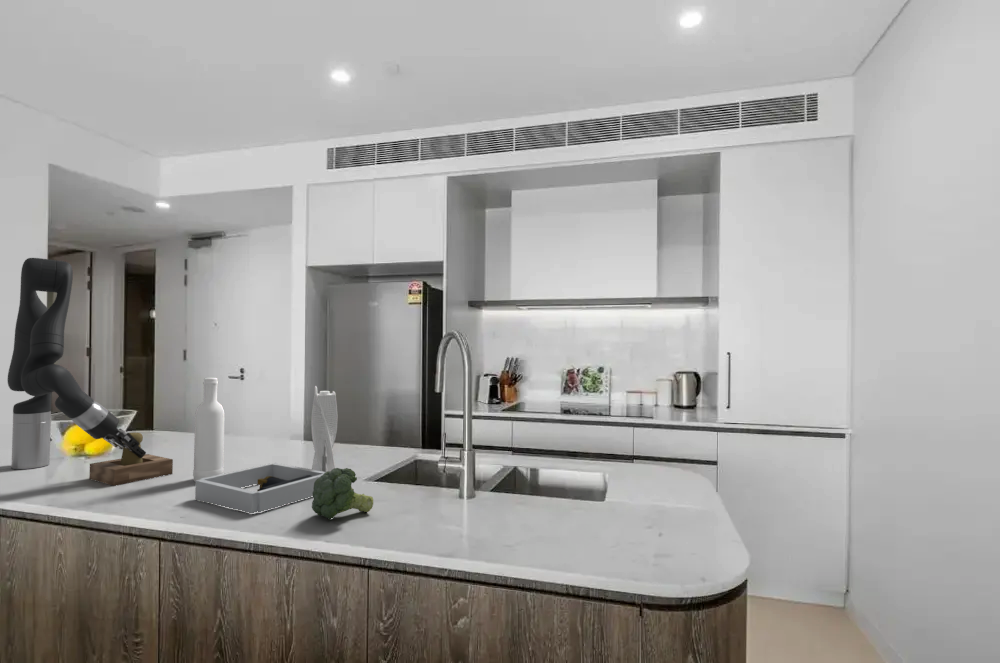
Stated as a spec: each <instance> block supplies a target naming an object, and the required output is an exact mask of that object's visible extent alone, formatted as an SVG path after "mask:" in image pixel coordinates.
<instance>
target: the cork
mask: <svg viewBox="0 0 1000 663" xmlns="http://www.w3.org/2000/svg"><path fill="white" fill-rule="evenodd" d="M129 433H130V434H131V435H132V436H133V437H134V438H135V439H136V440H137V441H138V442H139V444H140V445H139V447H140V448H142V444H141V443H142V442H143V436H144V435H143V434H142V433H141V432H137V431H136V432H135V431H133V432H129ZM123 444H124V443H123ZM132 445H133V444H132ZM132 445H131V446H132ZM120 459H121V463H120V465H122V466H127V465H132V464H138V463H143V460H142V458H139V457H138V456H137V455H135V454H134V453H132V452H131V451H129V450H128V449H126V448H125V447H123V450H122V454H121V458H120Z"/></svg>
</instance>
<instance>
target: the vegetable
mask: <svg viewBox="0 0 1000 663" xmlns="http://www.w3.org/2000/svg"><path fill="white" fill-rule="evenodd" d="M356 474H357V473H356V472H355V471H354V470H353V469H351V468H348V467H346V468H339V467H335V468H334V469H333V470H331V471H327V472H325V473H324V474H323V475H322V476H321V477H319V478H318V479H317V480H316V481H315V482H314V488H313V489H314V491H313V493H312V494H313V497H312V499H313V500H312V502H311V508H312V511H314V513H315V514H317V516H320V517H321V516H322V517H324V518H326V519H327V518H329V519H331V518H333V517H334V518H335V516H337V515H338V514H342V513H344V512H346V511H350V510H353V509H354V510H358V512H359V511H361V512H362V511H364V512H363V513H365V512H368V513H369V512H370V511H371V510H372V509H373V506H374V498H373V496H370V495H366V494H365V493H362V494H361V493H357V492H355V491H354V488H353V487H352V483H353V484H354V483H355V482H356V481H358V477H357V476H356ZM329 519H328V520H329Z"/></svg>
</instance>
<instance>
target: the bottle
mask: <svg viewBox="0 0 1000 663" xmlns="http://www.w3.org/2000/svg"><path fill="white" fill-rule="evenodd" d="M218 380H219V379H218V377H205V378H203V382H202V384H203V398H202V400H203V401H202V402H201V403H200V404H198V406H197V409H196V411H195V414H194V443H193V470H192V471H193V472H192V473H193V474H192V476H193V482H195V483H196V480H200V479H202V478H206V477H211V476H215V475H220V474H224V473H225V472H224V468H225V467H224V455H225V454H224V453H225V452H224V450H225V448H224V447H225V410H224V407H223V405H222V404H221V403H220V402H219V401H218V385H219V381H218Z"/></svg>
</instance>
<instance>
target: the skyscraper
mask: <svg viewBox="0 0 1000 663" xmlns="http://www.w3.org/2000/svg"><path fill="white" fill-rule="evenodd" d="M313 395H314V396H313V401H312V407H311V421H310V422H311V424H310V427H311V428H310V429H311V431H310V432H311V438H312V444H313V449H314V453H313V454H314V455H313V459H312V466H311V469H312V470H317V471H323V472H327V471H331V470H333V469H334V468H336V465H335V463H336V462H335V458H334V452H333V451H334V450H333V448H334V446H335V442H336V436H337V431H338V419H339V416H338V414H339V413H338V403H337V396H336V395H337V393H336V392H335V391H334V390H332V392H331V391H329V390H320V391H319V393H318V387H317V385H315V386H314V394H313Z"/></svg>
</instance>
